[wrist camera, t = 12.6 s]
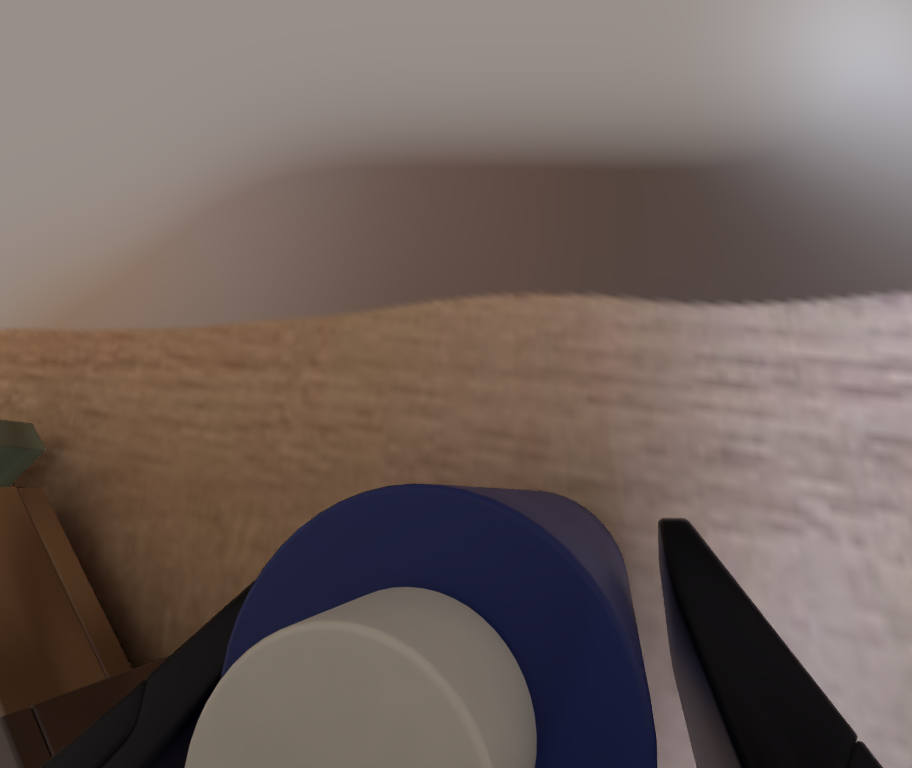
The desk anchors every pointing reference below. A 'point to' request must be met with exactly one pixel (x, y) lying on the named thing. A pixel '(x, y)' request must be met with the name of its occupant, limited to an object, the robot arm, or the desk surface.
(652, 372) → the desk surface
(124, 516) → the desk surface
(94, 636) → the drawer
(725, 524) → the desk surface
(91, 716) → the cabinet
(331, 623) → the glue bottle
